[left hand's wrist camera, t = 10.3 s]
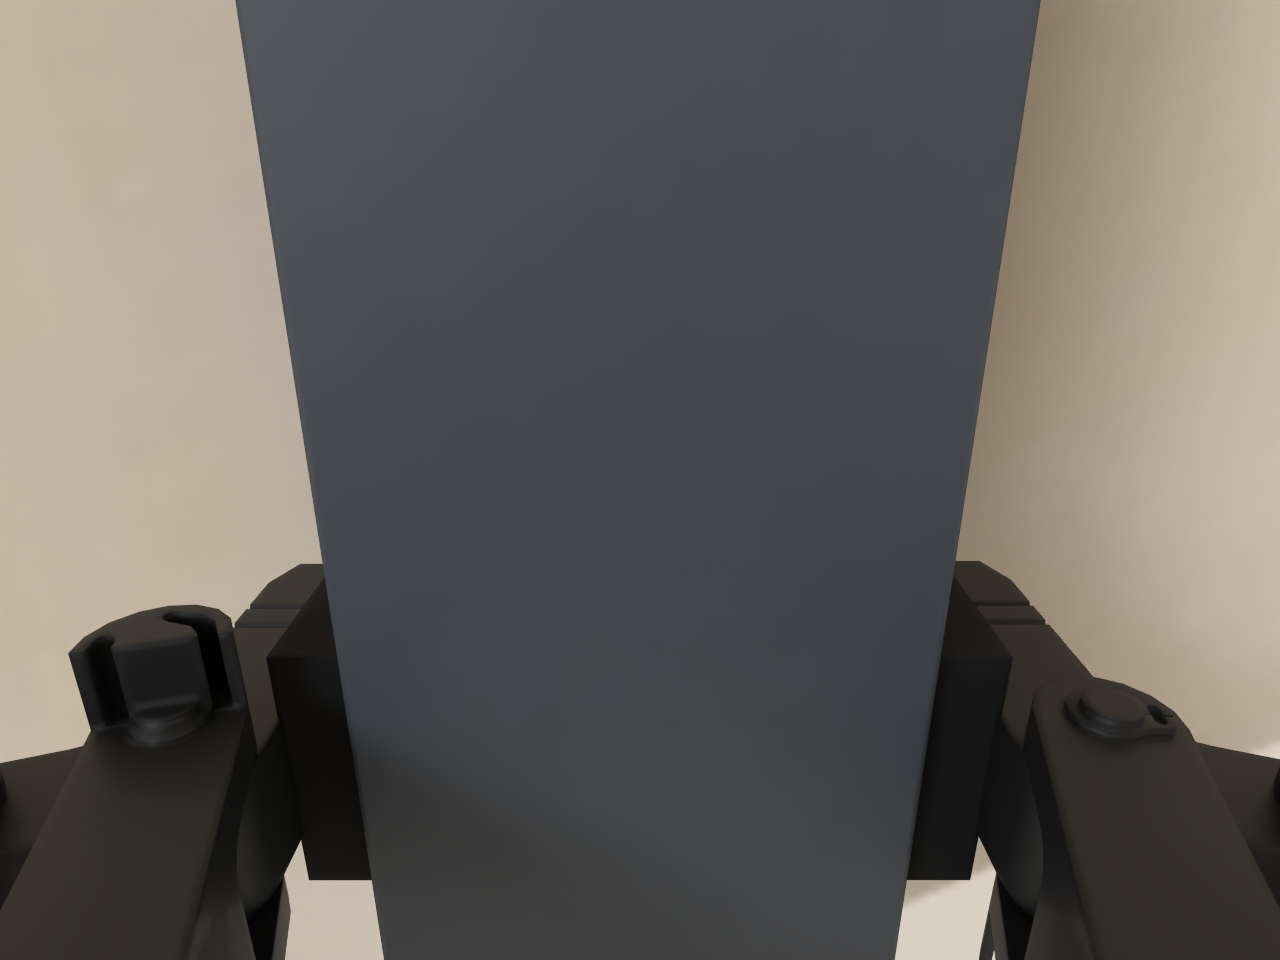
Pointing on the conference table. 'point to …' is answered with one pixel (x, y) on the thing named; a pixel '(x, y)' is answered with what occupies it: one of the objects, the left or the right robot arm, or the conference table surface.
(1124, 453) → the conference table surface
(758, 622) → the post
